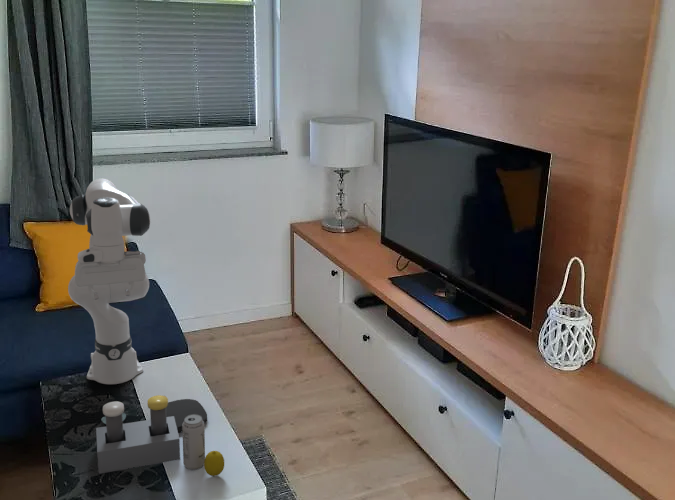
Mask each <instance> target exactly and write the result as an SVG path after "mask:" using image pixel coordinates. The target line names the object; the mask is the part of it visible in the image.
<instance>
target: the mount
mask: <svg viewBox="0 0 675 500" xmlns="http://www.w3.org/2000/svg"><path fill="white" fill-rule="evenodd" d="M166 420H167V434H164V435H157V436H151V419H146V420H140V421H139V420H138V421H134V422H133V421H132V422H126V423H123V435H124V441H120V442H114V443H108V442H107V429H106V426H101V427H95V430H96V431H95V434H96V451H97V452H96V453H97V465H98V474H99V475H101V474H104V473H111V472H117V471H123V470H127V469H128V468H129V469H134V468H133V467H135V468H139V466H140V467H145V465H146V466H150V465H156V464H163V463H167V462H175V461H180V460H181V447H180V444H181V443H180V442H181V441H180V435H179V433H178V431H177V426H176V422H175V418H174V416H171V417H166ZM129 469H128V470H129Z"/></svg>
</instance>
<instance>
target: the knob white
mask: <svg viewBox="0 0 675 500" xmlns="http://www.w3.org/2000/svg"><path fill="white" fill-rule="evenodd" d="M122 413H125V405H124V403H123V402H121V401H117V400H116V401H109V402H107V403H105V404H104V405H103V406H102V414H103V415H104V417H106V424H105V425H106V429H107V442H108V443H114V442H120V441H124V435H123V424H124V421H123V419H122Z"/></svg>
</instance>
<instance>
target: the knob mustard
mask: <svg viewBox="0 0 675 500" xmlns="http://www.w3.org/2000/svg"><path fill="white" fill-rule="evenodd" d="M168 402H169V398H168V397H167V396H165V395H159V394H158V395H154V396H150V397H149V398H148V399H147V408H148V409H149V414H150V415H149V416H150V420H151V436H157V435H164V434H167V420H166V407H167V406H168Z"/></svg>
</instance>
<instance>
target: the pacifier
mask: <svg viewBox="0 0 675 500" xmlns="http://www.w3.org/2000/svg"><path fill="white" fill-rule="evenodd" d="M126 418H127V414H126V413H125V412H123V413H122V419H123V422H124V421H125V420H126ZM100 419H101V422H102V423H103V424H105V425H106V416H103V417H102V418H100Z"/></svg>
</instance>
